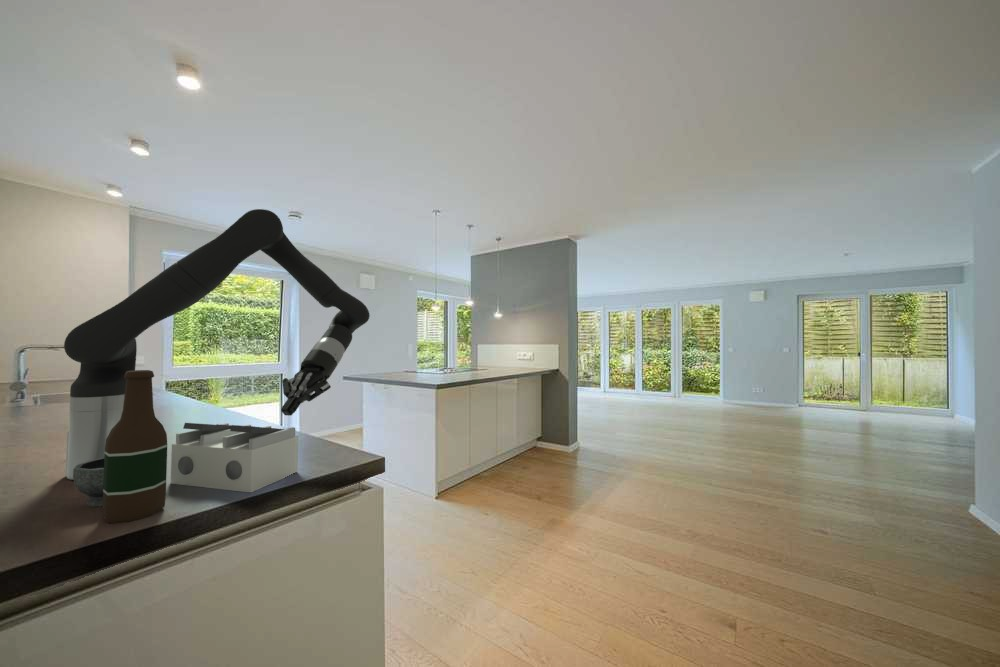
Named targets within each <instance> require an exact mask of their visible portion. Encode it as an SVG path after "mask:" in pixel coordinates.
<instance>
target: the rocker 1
mask: <svg viewBox="0 0 1000 667" xmlns="http://www.w3.org/2000/svg"><path fill="white" fill-rule="evenodd" d="M232 425H233V424H231V425H230V424H229V425H220V423H218V424H213V423H212V424H209V423H198V422H197V423H196V422H195V423H193V422H184V425H183V429H185V430H212V431H223V430H227V429H231V426H232Z"/></svg>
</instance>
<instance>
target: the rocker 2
mask: <svg viewBox="0 0 1000 667" xmlns="http://www.w3.org/2000/svg"><path fill="white" fill-rule="evenodd" d="M231 425H232V426H231V429H230V431H234V432H245V433H257V434H270V433H274V432H277V431H281V430H285V429H286V428H278V427H271V428H263V426H262V427H261V426H253V425H251V426H245V425H239V424H237V425H236V424H231Z"/></svg>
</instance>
